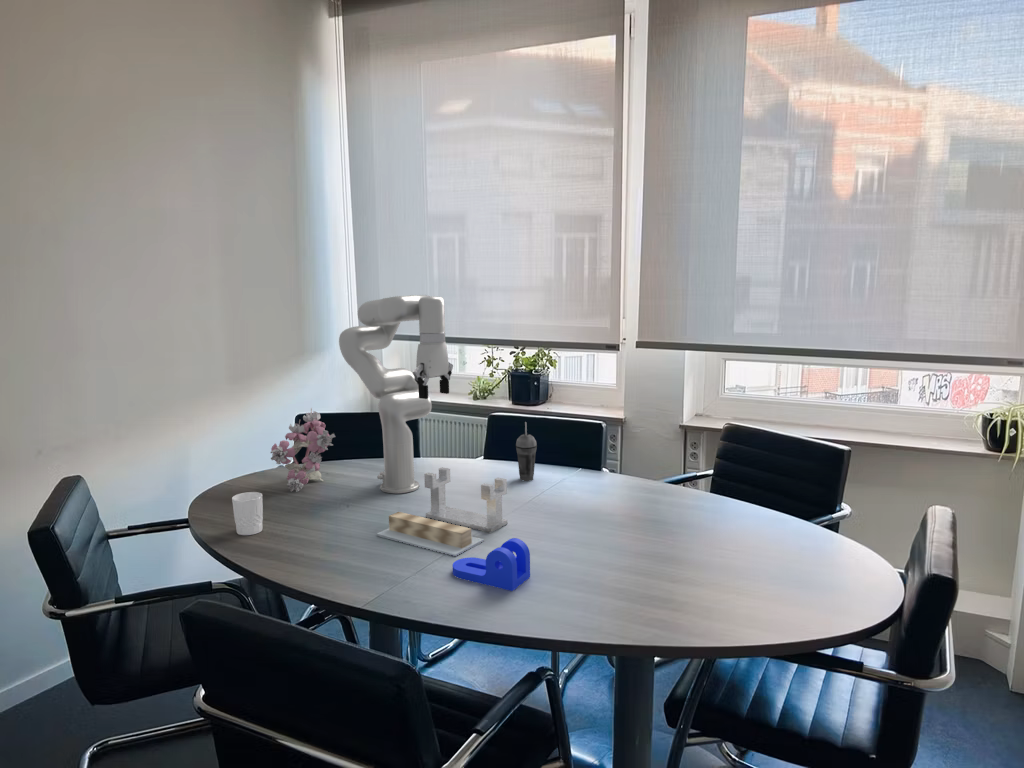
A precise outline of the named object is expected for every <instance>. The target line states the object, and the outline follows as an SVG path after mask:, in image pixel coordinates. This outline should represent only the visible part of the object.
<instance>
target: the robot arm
mask: <svg viewBox="0 0 1024 768" xmlns="http://www.w3.org/2000/svg"><path fill="white" fill-rule="evenodd" d="M357 318H358V320H359V321H360V322H361V324H363V325H359V326H356V325H355V326H352V327H347V328H346V329H344V330H342V332H341V333H340V334H339V337H338V345H339V350H340V353H341V356H342V357H343V359H344V361H345V362H346V364H347V365H348V366H350V367H351V368H352V369H353V371H354V372H355V373H356V374H357V375H358V376H359V378H360V380H361V381H362V383H363V385H365V387H366V389H367V390H368V391H369V393H370V394H371V396H373V397H374V398H375V399H378V400H379V401H378V407H377V409H378V414H379V419H380V424H381V429H382V444H383V445H382V446H383V447H382V448H383V467H384V468H383V469H384V471H380V472H379V474H378V475H377V480H382V483H381V484H380V488H379V489H380V490H381V492H383V493H387V494H405V493H406V494H407V493H412V492H414V491H417V490H418V489H419V488H420V482H419V481H417V480H415V467H414V466H415V464H414V463H415V462H414V461H415V459H414V439H413V438H414V437H413V432H412V430H411V428H410V427H409V425H408V424H407V423H406V422H408V421H412V420H417V419H421V418H425V417H427V416H428V415H429V414H430V413H431V412H432V408H433V405H432V399H431V397H430V394H429V386H428V382H429V380H430V379H433V378H434V379H435V378H437V377H439V393H440V394H446V395H447V394H449V393H450V380H451V375H453V374H452V373H453V369H454V368H453V367H454V364H452V363H451V362H449V355H448V353H449V352H448V347H447V342H446V319H445V300H444V298H443V297H442V296H435V295H434V296H432V295H431V296H430V295H428V294H417V295H416V294H415V295H413V294H411V295H397V296H396V295H395V296H389V297H384V298H379V299H373V300H369V301H365V302H364V303H362V304H361V305H360V306H359V308H358V309H357ZM410 321H413V322H414V321H418V327H419V328H418V329H419V331H418V332H419V344H418V345H417V351H416V368H415V369H414V370H412V371H411V370H410V369H408V368H406V367H405V368H404V367H398V368H386V367H385V366H384V364H383V363H382V362H381V361H380V359H379V358H378V357H377V356H375V355H373V354H372V353H370V351H376V350H384V349H386V348H388V347H389V346H390V345H391V343H392V342H393V339H394V337H395V335H396V333H397V331H398V329H399V326H400V324H401V322H410Z"/></svg>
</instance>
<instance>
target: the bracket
mask: <svg viewBox="0 0 1024 768" xmlns="http://www.w3.org/2000/svg"><path fill="white" fill-rule="evenodd" d="M514 553H515V554H514ZM452 575H453V576H454V577H455V576H456V577H455V578H457V577H458V578H457V579H459V578H461V579H460V580H464V579H465V580H464V581H468V580H469V581H468V582H472V581H473V582H472V583H476V582H477V583H478V584H480V583H481V585H485V584H486V585H485V586H489V585H490V586H489V587H493V586H494V588H497V587H498V588H499V589H501V588H502V590H507V591H511V592H513V590H514V591H515V590H516V589H518V588H519V587H520V586H521V585H522V584H524V583H525V582H526V581H527V580H528V579H530V578H531V551H530V549H529V547H528V545H527V544H526V542H525V541H523V540H521V538H517V537H516V538H515V537H513V538H509V539H507V541H505V542H503V543H502V544H501V546H500V547H496V548H495V549H492V551H490V552H488V554H487V556H486V557H485V558H480V557H472V556H471V557H462V558H460V559H457V560H455V561H454V562H453V563H452ZM529 577H530V578H529ZM524 581H525V582H524ZM477 583H476V584H477ZM519 585H520V586H519ZM518 586H519V587H518ZM498 588H497V589H498Z"/></svg>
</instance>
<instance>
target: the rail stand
mask: <svg viewBox="0 0 1024 768" xmlns="http://www.w3.org/2000/svg"><path fill="white" fill-rule="evenodd" d="M423 477H424V488H425V489H430V508H431V509H430V511H429V512H426V513H425V518H426V517H427V518H428V519H430V518H432V520H434V519H436V520H437V521H438V520H441V522H443V521H444V522H445V523H447V522H448V523H449V524H451V523H452V524H454V525H455V524H456V525H458V526H460V525H461V526H462V527H467V528H468V527H469V528H471V529H472V528H473V530H477V529H478V531H481V530H482V532H485V531H486V533H489V532H492V533H493V532H496V531H497V530H499V529H501V528H503V527H504V526H506V525H508V519H504V518H503V496H504V495H506V494H507V493H508V479H507V478H502V477H496V478H494V484H489V483H486V482H485V483H482V484H480V496H481V498H480V499H481V500H483V501H486V514H482V513H478V512H473V511H469V510H465V509H464V510H463V509H460V508H455V507H451V506H447V505H446V503H447V502H446V484H449V483H451V468H448V467H440V468H438V478H437V473H433V472H431V473H430V472H426V473H424V476H423ZM502 526H503V527H502Z"/></svg>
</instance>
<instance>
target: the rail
mask: <svg viewBox="0 0 1024 768" xmlns="http://www.w3.org/2000/svg"><path fill="white" fill-rule="evenodd" d="M388 525H389V526H388V528H389V530H392V531H396V532H400V533H404V534H408V535H412V536H415V537H419V538H423V539H427V540H431V541H435V542H439V543H443V544H447V545H451V546H455V547H459V548H464V547H466V546H468V545H470V544H471V543H472V528H468V527H464V526H460V525H455V524H451V523H447V522H443V521H438V520H434V519H430V518H426V517H423V516H419V515H414V514H410V513H406V512H402V511H397V512H394V513H392V514H391V515H388Z"/></svg>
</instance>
